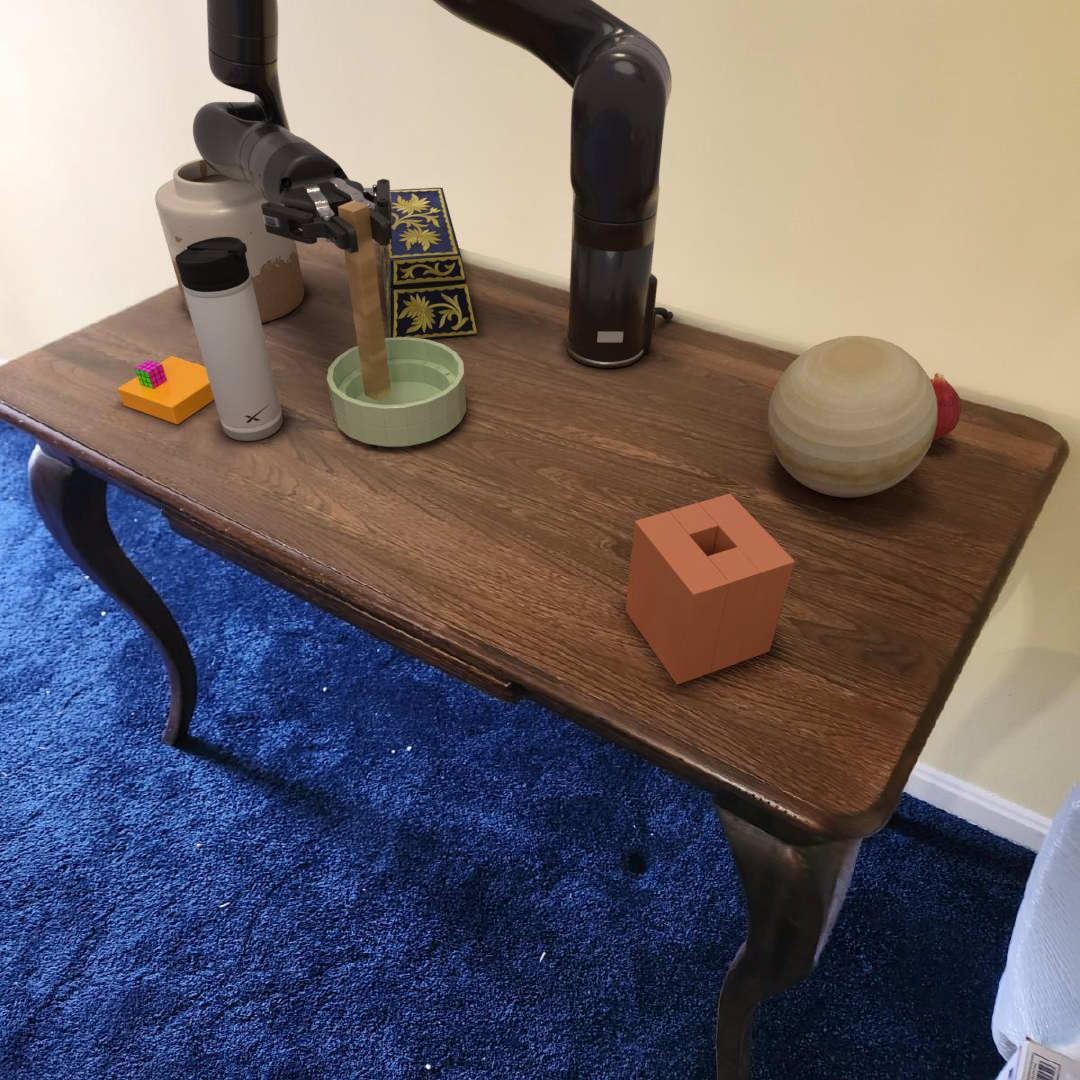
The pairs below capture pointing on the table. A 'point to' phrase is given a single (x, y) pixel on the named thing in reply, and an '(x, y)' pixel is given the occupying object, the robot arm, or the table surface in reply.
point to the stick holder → (706, 586)
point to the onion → (945, 406)
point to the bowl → (400, 394)
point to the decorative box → (424, 269)
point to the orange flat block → (168, 389)
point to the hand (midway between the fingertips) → (370, 238)
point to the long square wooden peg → (366, 303)
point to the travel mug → (231, 336)
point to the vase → (230, 232)
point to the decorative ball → (852, 416)
